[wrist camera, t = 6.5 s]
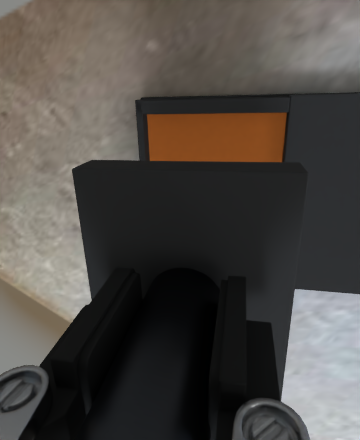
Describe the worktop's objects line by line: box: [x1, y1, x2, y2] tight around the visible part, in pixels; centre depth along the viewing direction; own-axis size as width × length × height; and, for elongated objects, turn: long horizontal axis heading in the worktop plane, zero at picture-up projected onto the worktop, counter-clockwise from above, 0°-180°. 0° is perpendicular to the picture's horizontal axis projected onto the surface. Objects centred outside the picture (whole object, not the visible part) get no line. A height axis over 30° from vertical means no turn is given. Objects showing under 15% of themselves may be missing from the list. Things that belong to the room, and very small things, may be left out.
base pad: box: [135, 92, 360, 294], centre depth 20 cm, size 12×16×2 cm
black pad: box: [72, 160, 309, 440], centre depth 9 cm, size 9×7×7 cm
